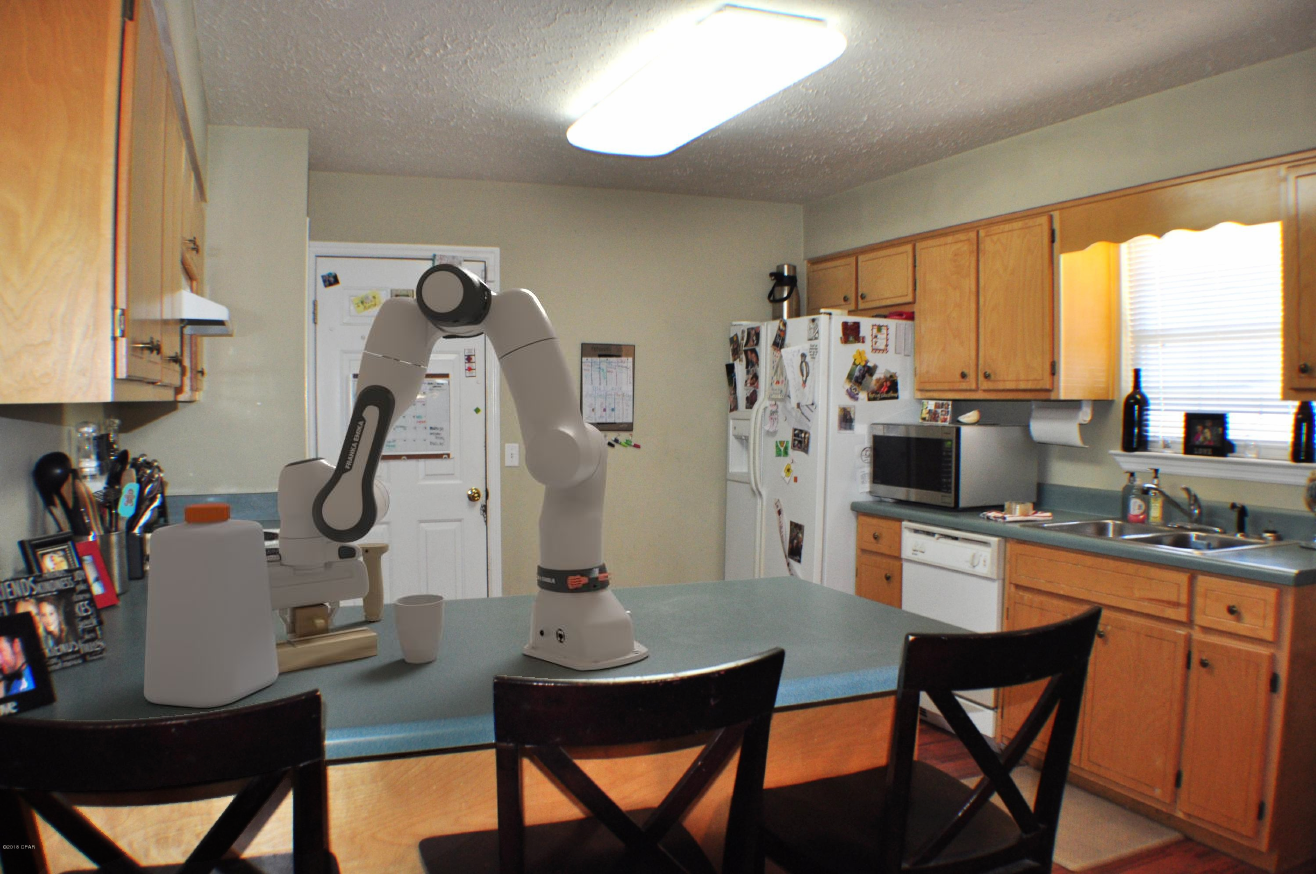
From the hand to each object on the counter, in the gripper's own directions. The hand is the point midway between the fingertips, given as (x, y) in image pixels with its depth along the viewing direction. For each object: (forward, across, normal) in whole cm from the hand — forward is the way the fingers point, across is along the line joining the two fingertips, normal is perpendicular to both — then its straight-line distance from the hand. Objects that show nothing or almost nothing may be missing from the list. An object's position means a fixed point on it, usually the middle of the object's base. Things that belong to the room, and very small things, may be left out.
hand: (309, 630), depth 149 cm
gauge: (+3, 0, -3) cm, 4 cm away
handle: (+4, +15, +13) cm, 21 cm away
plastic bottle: (+4, -17, -14) cm, 22 cm away
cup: (+4, +13, -18) cm, 22 cm away
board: (+3, 0, -8) cm, 8 cm away
